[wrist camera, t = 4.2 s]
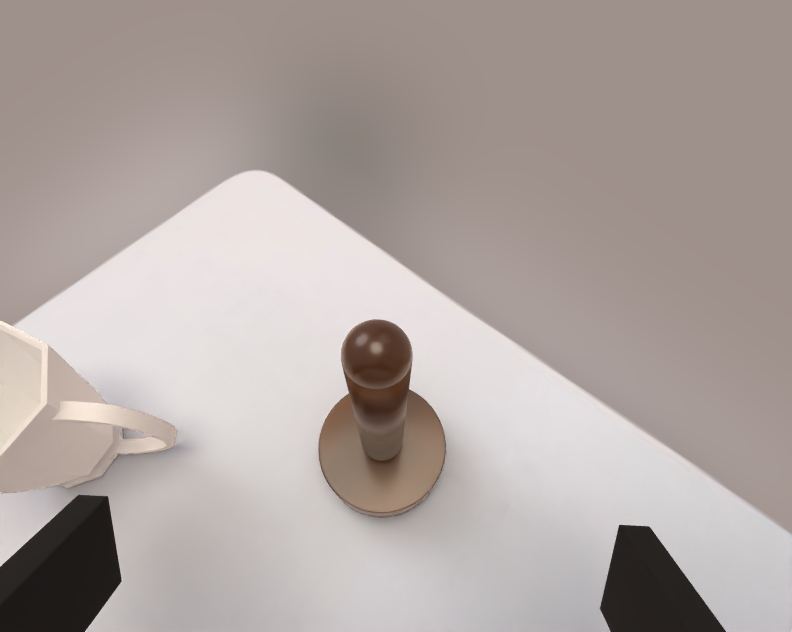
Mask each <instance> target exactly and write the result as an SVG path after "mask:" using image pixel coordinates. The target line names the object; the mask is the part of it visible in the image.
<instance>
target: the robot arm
mask: <svg viewBox="0 0 792 632" xmlns="http://www.w3.org/2000/svg"><path fill="white" fill-rule="evenodd" d="M121 581H122V580H121V574H120V568H119V562H118V556H117V550H116V543H115V537H114V531H113V525H112V519H111V512H110V506H109V500H108V497H107V496H89V495H78V496H77V497H76V498H75V499H73V500H72V501H71V502H70V503H69V504H68V505H67V506H66V507H65V508H64V509H63V510H62V511H60V512H59V513H58V514H57V515H56V516H55V517H54V518H53V519H52V520H51V521H50V522H48V523H47V524H46V525H45V526H44V527H43V528H42V529H41V530H40V531H39V532H38V533H37V534H35V535H34V536H33V537H32V538H31V539H30V540H29V541H28V542H27V543H26V544H25V545H24V546H22V547H21V548H20V549H19V550H18V551H17V552H16V553H15V554H14V555H13V556H12V557H11V558H9V559H8V560H7V561H6V562H5V563H4V564H3V565H2V566H1V567H0V632H85V631H86V629H87V628H88V626H89V625H90V624H91V622H92V621H93V620H94V618H95V617H96V616H97V614H98V613H99V611H100V610H101V609H102V607H103V606H104V605H105V603H106V602H107V601H108V599H109V598H110V596H111V595H112V594H113V592H114V591H115V590H116V588H117V587H118V586H119V584H120V583H121ZM600 609H601V612H602V614H603V616H604V618H605V620H606V622H607V624H608V627H609V629H610V631H611V632H726V631H725V630H724V628H723V627H722V625H721V624H720V623H719V621H718V620H717V619H716V617H715V616H714V615H713V613H712V612H711V610H710V609H709V608H708V606H707V605H706V604H705V602H704V601H703V599H702V598H701V597H700V595H699V594H698V593H697V591H696V590H695V588H694V587H693V586H692V584H691V583H690V582H689V580H688V579H687V577H686V576H685V575H684V573H683V572H682V571H681V569H680V568H679V566H678V565H677V564H676V562H675V561H674V560H673V558H672V557H671V555H670V554H669V553H668V551H667V550H666V549H665V547H664V546H663V545H662V543H661V542H660V540H659V539H658V538H657V536H656V535H655V534H654V532H653V531H652V529H651V528H650V527H648V526H630V525H619V528H618V533H617V537H616V541H615V546H614V550H613V554H612V559H611V563H610V568H609V572H608V576H607V581H606V585H605V589H604V594H603V598H602V602H601V607H600Z"/></svg>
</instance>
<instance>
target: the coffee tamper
mask: <svg viewBox="0 0 792 632" xmlns="http://www.w3.org/2000/svg"><path fill="white" fill-rule="evenodd" d="M341 361H342V366H343V370H344V374H345V378H346V382H347V386H348V391H349V394H348V395H346V396H345V397H344V398H342V399H341V400H340V401H339V402H338V403H337V404H336V405H335V406H334V407H333V409H332V410H331V411H330V413H329V415H328V416H327V418H326V420H325V422H324V424H323V427H322V430H321V433H320V439H319V461H320V465H321V469H322V472H323V474H324V477H325V479H326V480H327V482H328V484H329V486H330V487H331V488H332V490H333V491H334V492H335V493H336V494H337V496H338V497H339V498H340V499H341V500H342V501H343V502H344V503H345V504H347V505H348V506H349V507H350V508H352V509H354V510H356V511H357V512H360V513H362V514H365V515H369V516H373V517H390V516H395V515H399V514H402V513H404V512H407V511H408V510H410V509H412V508H414V507H415V506H416V505H418V504H419V503H420V502H421V501H422V500H423V499H424V498H425V497H426V496H427V495H428V493H429V492H430V491H431V489H432V488H433V486H434V485H435V483H436V481H437V480H438V478H439V475H440V473H441V471H442V468H443V464H444V460H445V452H446V443H445V435H444V431H443V428H442V425H441V422H440V420H439V418H438V416H437V414H436V413H435V411H434V410H433V408H432V407H431V406H430V405H429V404H428V403H427V402H426V401H425V400H424V399H423V398H422V397H421V396H419V395H418V394H416V393H415V392H413V391H411V390H409V383H410V374H411V366H412V347H411V344H410V341H409V339H408V337H407V335H406V334H405V333H404V332H403V330H402V329H401V328H399V327H398V326H397V325H395V324H393V323H391V322H389V321H385V320H369V321H365V322H363V323H360V324H359V325H357V326H355V327H354V328H353V329H352V330H351V331H350V332H349V333H348V335H347V336H346V338H345V340H344V342H343V345H342V349H341Z"/></svg>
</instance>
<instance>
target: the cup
mask: <svg viewBox="0 0 792 632" xmlns="http://www.w3.org/2000/svg"><path fill="white" fill-rule="evenodd" d="M122 428H124V429H129V430H134V431H137V432H140V433H143V434H146V435H149V436H152V437H148V438H139V439H123V430H122ZM176 435H177V430H176V428H175V426H173V425H171V424H170V423H168V422H166V421H164V420H161V419H159V418H156V417H154V416H151V415H149V414H146V413H143V412H140V411H136V410H132V409H128V408H123V407H119V406H115V405H108V404H106V403H105V401H104V400H103V398H102V397H101V396H100V394H99V393H98V392H97V391H96V390H95V389H94V388H93V387H92V386H91V385H90V384H89V383H88V382H87V381H85V380H84V379H83V378H82V377H81V376H80V375H79V374H78V373H77V372H76V371H75V370H74V369H73V368H72V367H71V366H70V365H69V364H68V363H67V362H66V361H65V360H64V359H63V358H62V357H61V356H60V355H59V354H58V353H56V352H55V351H54V350H53V349H52V348H51V347H50V346H49V345H48V344H46V343H44V342H42V341H40V340H38V339H36V338H34V337H32V336H30V335H28V334H26V333H24V332H22V331H20V330H18V329H16V328H14V327H12V326H10V325H8V324H6V323H4V322H2V321H0V493H18V492H24V491H30V490H36V489H42V488H48V487H53V486H56V485H60V486H62V487H65V488H70V487H73V486H75V485H78V484H81V483H84V482H87V481H90V480H93V479H96V478H99V477H101V476H102V475H103V474H104V473H105V471H106V470H107V469H108V467H109V466H110V465H111V463H112V462H113V461H114V459H115V458H116V457H117V455H118V454H145V453H152V452H158V451H163V450H167V449H169V448H171V447H173V445H174V442H175V438H176Z"/></svg>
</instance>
